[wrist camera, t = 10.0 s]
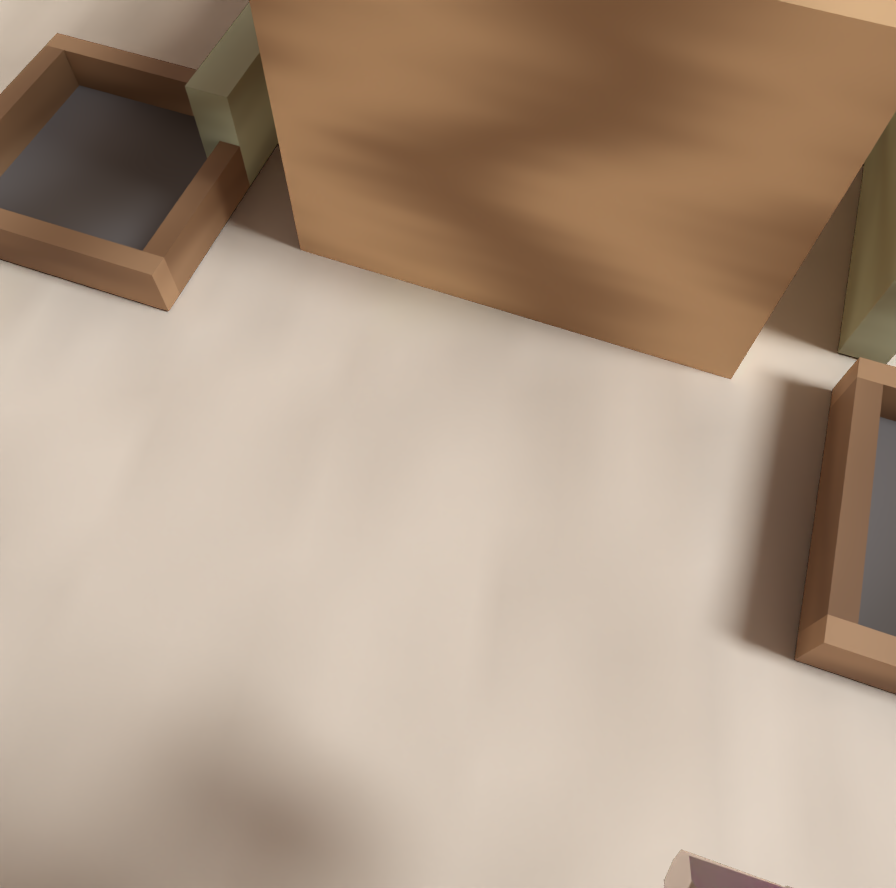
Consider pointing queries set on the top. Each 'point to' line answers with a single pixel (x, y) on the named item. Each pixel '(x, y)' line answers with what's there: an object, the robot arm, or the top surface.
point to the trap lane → (238, 163)
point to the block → (581, 151)
